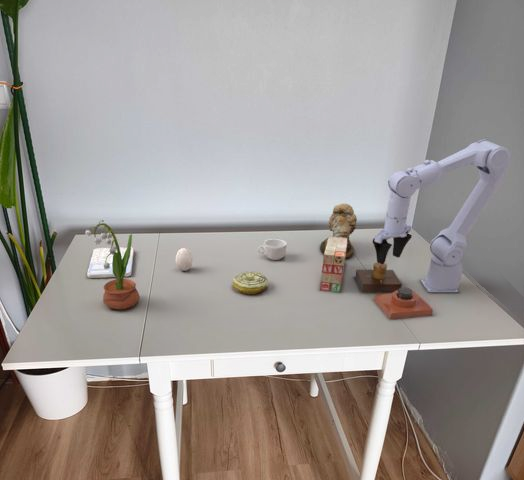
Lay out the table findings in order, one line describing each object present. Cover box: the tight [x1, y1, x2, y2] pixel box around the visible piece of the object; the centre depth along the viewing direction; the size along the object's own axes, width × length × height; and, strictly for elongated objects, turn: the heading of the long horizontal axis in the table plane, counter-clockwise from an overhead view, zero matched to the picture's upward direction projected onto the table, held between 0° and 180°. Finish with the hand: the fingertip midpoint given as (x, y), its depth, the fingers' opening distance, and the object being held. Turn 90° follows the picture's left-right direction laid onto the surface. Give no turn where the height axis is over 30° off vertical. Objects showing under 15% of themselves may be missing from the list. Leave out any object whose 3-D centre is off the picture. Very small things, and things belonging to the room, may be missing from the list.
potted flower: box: [84, 220, 140, 310], centre depth 135 cm, size 12×10×25 cm
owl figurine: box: [320, 203, 358, 261], centre depth 175 cm, size 18×12×17 cm, turn 1°
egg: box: [175, 247, 193, 272], centre depth 160 cm, size 5×5×8 cm
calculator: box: [86, 246, 135, 279], centre depth 163 cm, size 13×20×2 cm, turn 10°
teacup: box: [257, 238, 288, 261], centre depth 170 cm, size 10×8×5 cm
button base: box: [373, 290, 434, 320], centre depth 145 cm, size 13×11×4 cm
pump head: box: [397, 287, 414, 300], centre depth 143 cm, size 4×4×2 cm
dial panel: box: [354, 269, 403, 294], centre depth 156 cm, size 12×10×3 cm
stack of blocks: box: [319, 236, 347, 293], centre depth 158 cm, size 21×6×12 cm, turn 168°
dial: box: [372, 261, 388, 279], centre depth 154 cm, size 4×4×4 cm
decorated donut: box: [232, 271, 270, 295], centre depth 152 cm, size 10×11×4 cm
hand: (388, 259), depth 149 cm, fingers open, 7 cm apart
